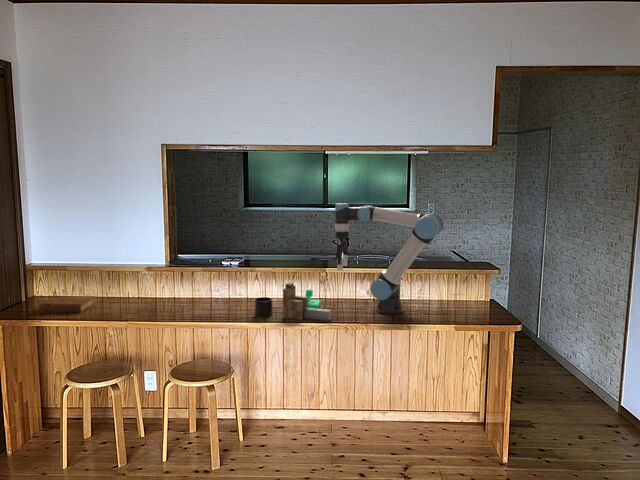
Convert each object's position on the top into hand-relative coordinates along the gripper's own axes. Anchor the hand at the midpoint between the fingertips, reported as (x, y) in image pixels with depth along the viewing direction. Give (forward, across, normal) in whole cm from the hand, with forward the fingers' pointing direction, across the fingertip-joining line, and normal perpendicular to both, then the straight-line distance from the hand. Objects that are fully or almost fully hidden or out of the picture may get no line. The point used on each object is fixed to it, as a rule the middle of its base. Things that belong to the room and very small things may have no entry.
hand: (342, 268), depth 286 cm
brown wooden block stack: (+25, +16, -23) cm, 38 cm away
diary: (+22, +39, -154) cm, 161 cm away
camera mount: (+25, -7, -20) cm, 33 cm away
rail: (+25, +16, -14) cm, 33 cm away
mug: (+25, +18, -41) cm, 51 cm away
